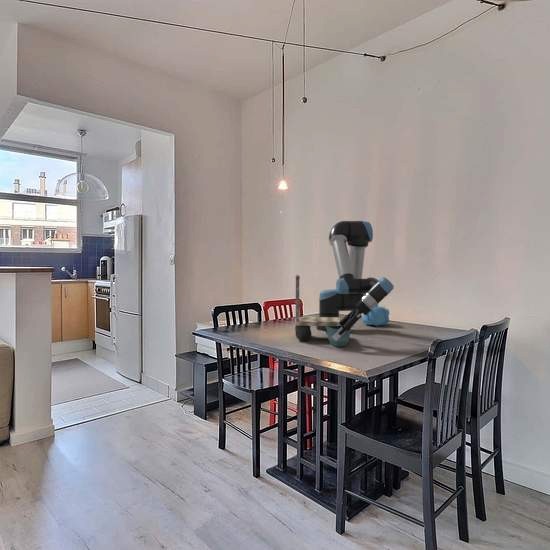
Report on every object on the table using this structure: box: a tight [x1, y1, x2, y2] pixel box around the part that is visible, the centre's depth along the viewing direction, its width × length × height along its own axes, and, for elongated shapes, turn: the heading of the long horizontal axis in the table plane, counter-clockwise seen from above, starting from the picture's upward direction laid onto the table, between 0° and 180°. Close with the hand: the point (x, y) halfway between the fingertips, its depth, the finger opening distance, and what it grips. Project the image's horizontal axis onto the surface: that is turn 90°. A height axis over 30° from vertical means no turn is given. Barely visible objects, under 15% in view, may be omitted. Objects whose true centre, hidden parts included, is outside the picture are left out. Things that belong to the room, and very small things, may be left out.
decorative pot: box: [361, 304, 391, 327], centre depth 251 cm, size 16×16×14 cm
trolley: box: [294, 274, 343, 342], centre depth 208 cm, size 24×16×33 cm, turn 88°
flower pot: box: [326, 326, 352, 348], centre depth 191 cm, size 9×9×9 cm
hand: (332, 336), depth 191 cm, fingers closed on flower pot, 11 cm apart
